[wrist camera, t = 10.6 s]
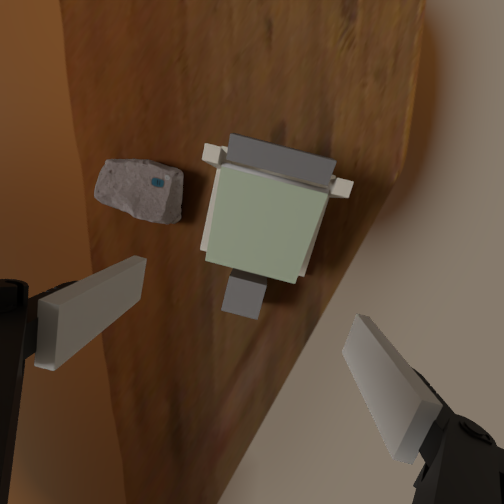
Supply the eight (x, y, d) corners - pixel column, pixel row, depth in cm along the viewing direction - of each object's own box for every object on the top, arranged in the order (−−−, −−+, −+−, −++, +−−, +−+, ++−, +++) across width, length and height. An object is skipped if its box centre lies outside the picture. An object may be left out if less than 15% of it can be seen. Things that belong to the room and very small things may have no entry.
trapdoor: (230, 132, 33) (226, 132, 30) (336, 159, 33) (340, 162, 30) (209, 253, 41) (204, 261, 38) (294, 275, 41) (295, 285, 38)
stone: (193, 172, 43) (181, 168, 38) (181, 226, 45) (168, 230, 40) (119, 151, 44) (95, 143, 38) (110, 204, 46) (87, 206, 40)
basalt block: (221, 310, 41) (227, 293, 48) (257, 319, 41) (258, 301, 48) (229, 275, 40) (235, 264, 46) (266, 285, 40) (266, 272, 46)
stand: (223, 147, 42) (207, 130, 31) (333, 176, 42) (358, 169, 31) (202, 247, 46) (181, 264, 35) (302, 274, 46) (314, 299, 35)
